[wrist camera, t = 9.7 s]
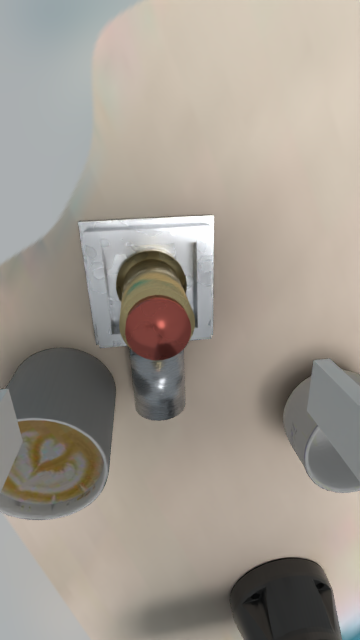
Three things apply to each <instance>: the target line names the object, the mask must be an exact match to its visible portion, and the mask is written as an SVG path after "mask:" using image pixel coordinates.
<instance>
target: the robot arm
mask: <svg viewBox="0 0 360 640" xmlns="http://www.w3.org/2000/svg"><path fill="white" fill-rule="evenodd" d="M307 412H308V413H309V414H310V416H311V417H312V418H313V420H314V421H315V422H316V424H317V425H318V426H319V428H320V429H321V430H322V432H323V433H324V434H325V436H326V437H327V438H328V440H329V441H330V442H331V444H332V445H333V447H334V448H335V449H336V451H337V452H338V453H339V455H340V456H341V457H342V459H343V460H344V461H345V463H346V464H347V465H348V467H349V468H350V469H351V471H352V472H353V473H354V475H355V476H356V477H357V479H358V480H359V482H360V386H359V385H358V384H357V383H356V382H355V381H354V380H353V379H351V378H350V377H349V376H348V375H347V374H346V373H345V372H344V371H343V370H342V369H341V368H339V367H338V366H337V365H336V364H335V363H334V362H333V361H332V360H331V359H321V360H314V361H313V368H312V375H311V383H310V390H309V398H308V405H307ZM22 442H23V440H22V437H21V433H20V429H19V426H18V422H17V418H16V415H15V411H14V407H13V404H12V400H11V396H10V393H9V389H0V493H1V490H2V488H3V486H4V483H5V481H6V479H7V477H8V474H9V472H10V470H11V467H12V465H13V463H14V460H15V458H16V456H17V454H18V451H19V449H20V447H21V444H22ZM230 604H231V609H232V613H233V617H234V621H235V623H236V625H237V627H238V629H239V631H240V633H241V635H242V637H243V639H244V640H342V637H341V632H340V627H339V621H338V616H337V611H336V606H335V600H334V595H333V590H332V587H331V585H330V583H329V581H328V579H327V576H326V574H325V572H324V570H323V569H322V568H321V567H320V566H319V565H318V564H316V563H314V562H312V561H309V560H304V559H283V560H278V561H273V562H270V563H267V564H264V565H262V566H260V567H258V568H256V569H254V570H252V571H250V572H249V573H247V574H246V575H245V576H244V577H242V578H241V579H240V580H239V581H238V582H237V584H236V585H235V586H234V588H233V590H232V592H231V595H230Z"/></svg>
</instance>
